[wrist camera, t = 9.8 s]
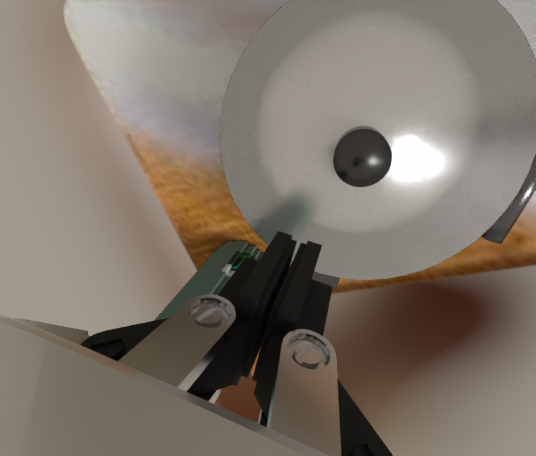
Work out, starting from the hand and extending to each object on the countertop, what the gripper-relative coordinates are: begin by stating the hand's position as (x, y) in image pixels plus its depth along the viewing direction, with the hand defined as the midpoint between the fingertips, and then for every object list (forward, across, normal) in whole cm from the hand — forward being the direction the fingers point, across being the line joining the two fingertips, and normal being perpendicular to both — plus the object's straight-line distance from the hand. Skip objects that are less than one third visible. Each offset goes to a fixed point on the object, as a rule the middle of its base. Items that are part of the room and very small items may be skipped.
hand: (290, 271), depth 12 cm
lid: (+7, -2, -4) cm, 8 cm away
